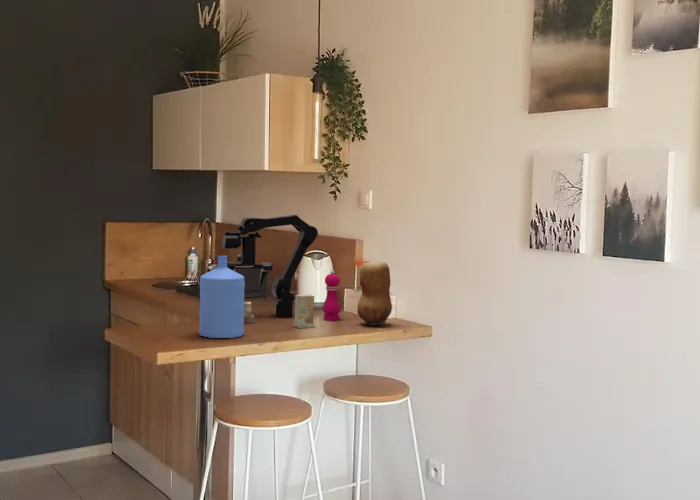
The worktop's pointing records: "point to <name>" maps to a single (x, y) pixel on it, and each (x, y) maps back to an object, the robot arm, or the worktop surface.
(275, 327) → the worktop surface
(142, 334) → the worktop surface
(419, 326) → the worktop surface
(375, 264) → the butternut squash
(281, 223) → the robot arm
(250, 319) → the beige flat block
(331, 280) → the pepper mill
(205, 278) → the water jug
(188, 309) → the worktop surface
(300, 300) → the skincare box
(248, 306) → the oak cube
